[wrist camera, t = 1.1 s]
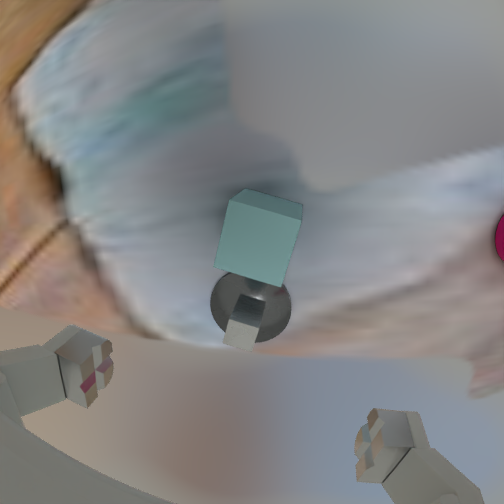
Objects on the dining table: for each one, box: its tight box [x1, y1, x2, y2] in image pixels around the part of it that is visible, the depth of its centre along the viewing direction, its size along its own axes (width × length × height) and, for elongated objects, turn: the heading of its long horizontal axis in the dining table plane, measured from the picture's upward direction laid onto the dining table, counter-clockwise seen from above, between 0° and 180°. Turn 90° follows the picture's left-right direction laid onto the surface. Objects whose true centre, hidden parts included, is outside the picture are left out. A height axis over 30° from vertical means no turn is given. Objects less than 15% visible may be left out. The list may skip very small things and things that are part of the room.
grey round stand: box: [210, 272, 291, 352], centre depth 29 cm, size 8×8×6 cm
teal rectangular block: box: [214, 188, 302, 287], centre depth 26 cm, size 5×5×7 cm
